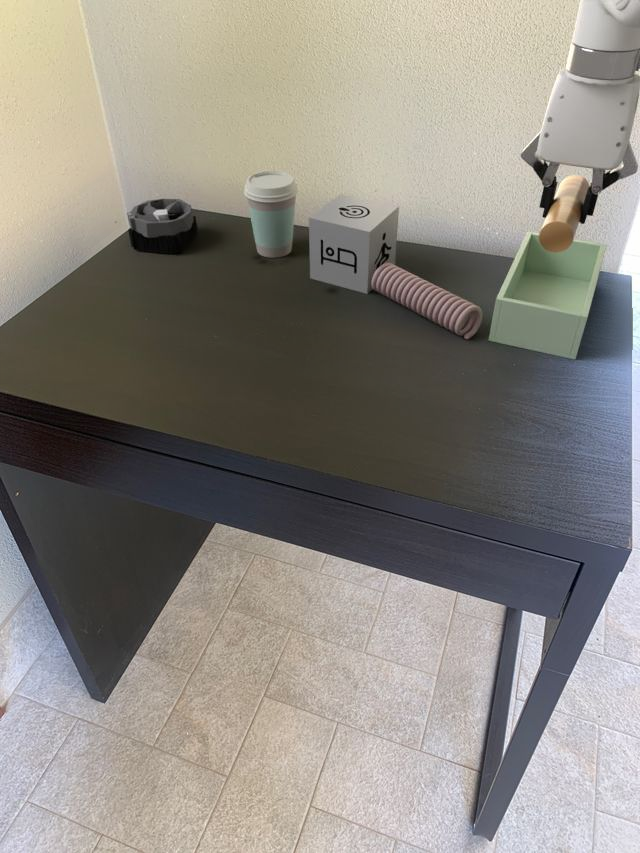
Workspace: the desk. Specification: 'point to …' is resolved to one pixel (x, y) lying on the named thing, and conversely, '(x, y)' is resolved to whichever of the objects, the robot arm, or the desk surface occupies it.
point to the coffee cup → (272, 211)
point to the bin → (547, 297)
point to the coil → (427, 300)
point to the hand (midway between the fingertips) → (564, 215)
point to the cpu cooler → (162, 226)
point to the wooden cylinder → (564, 214)
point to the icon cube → (352, 241)
